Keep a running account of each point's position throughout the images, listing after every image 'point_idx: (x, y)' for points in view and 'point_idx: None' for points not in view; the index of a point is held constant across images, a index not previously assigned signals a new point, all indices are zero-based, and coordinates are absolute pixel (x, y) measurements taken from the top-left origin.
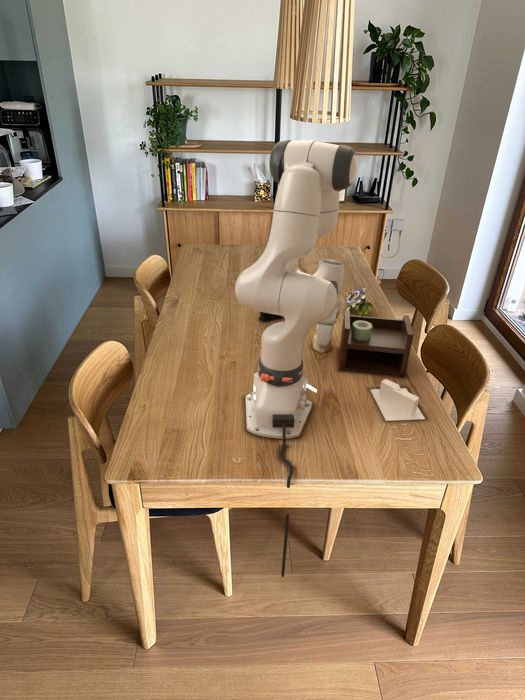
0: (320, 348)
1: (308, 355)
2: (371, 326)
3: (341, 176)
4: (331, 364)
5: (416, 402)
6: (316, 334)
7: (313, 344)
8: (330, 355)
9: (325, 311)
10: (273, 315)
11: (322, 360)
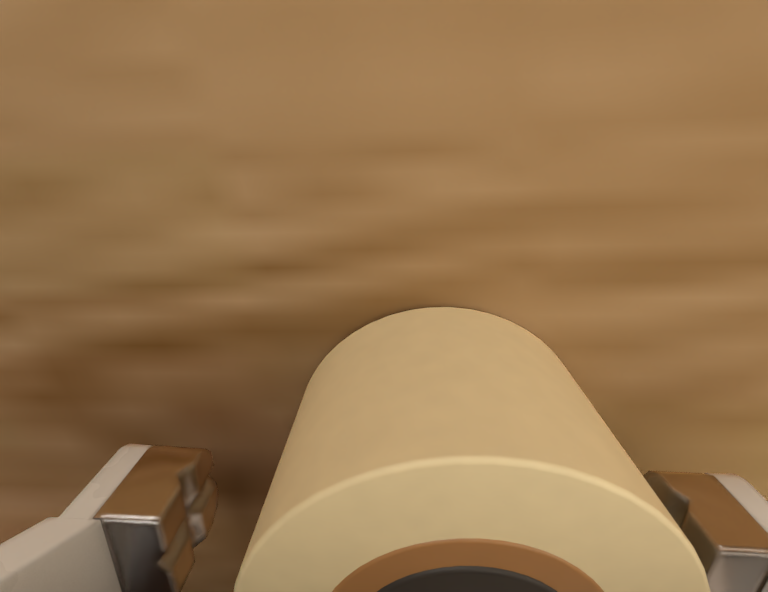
0: (81, 513)
1: (119, 237)
2: None
3: None
4: (19, 523)
5: None
6: (605, 529)
7: (393, 346)
8: (234, 522)
9: None
10: None
11: (63, 434)
